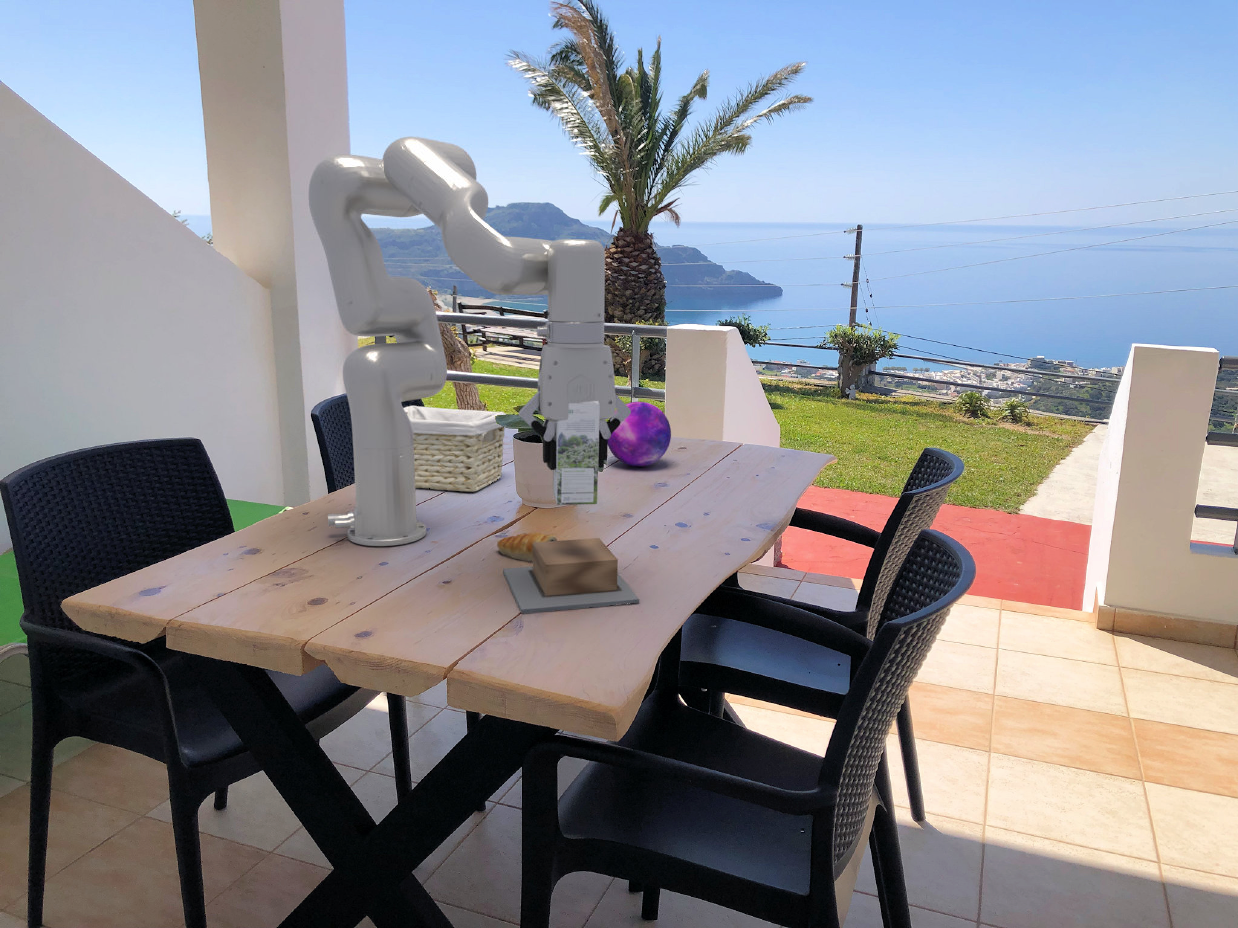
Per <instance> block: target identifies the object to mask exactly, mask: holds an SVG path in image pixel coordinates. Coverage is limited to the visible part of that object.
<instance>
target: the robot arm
mask: <svg viewBox="0 0 1238 928" xmlns="http://www.w3.org/2000/svg"><path fill="white" fill-rule="evenodd" d="M308 206H309V210H310V212H309V213H310V215H311V218H312V221H313V225H314V227H315V230H316V232H317V234H318V237H319V240H320V242H321V245H322V247H323V251H324V253H325V257H326V260H327V261H326V262H327V266H328V272H329V275H330V280H331V285H332V288H333V293H334V297H335V302H336V307H337V311H338V314H339V317H340V321H341V323H342V325H343V328H344V329H345V330H346V331H347V332H348V334H349V333H350V334H351V335H353V336H357V337H367V338H369V337H387V336H394V338H395V341H396V342H389V343H388V342H387V343H385V342H384V343H374V344H368V345H363V346H360V347H358V348H356V349H355V350H353V351H352V352H351V353H350V354H348V356H347V357H346V359H345V361H344V363H343V368H342V379H343V386H344V388H345V389H344V390H345V394H346V397H347V401H348V405H349V412H350V419H351V431H352V433H351V434H352V447H353V450H352V451H353V467H354V470H353V471H354V485H355V487H354V488H355V506H354V510H353V511H350V510H349V511H347V513H342V514H341V513H329V514H327V521H328V522H327V524H328V527H329V526H331V527H335V529H344V528H348V530H347V539H348V540H349V541H350V542H352V543H355V544H357V545H362V546H369V547H389V546H390V547H392V546H399V545H405V544H409V543H410V544H411V543H414V542H416V541H418V540H420V539H422V538H424V537H425V536H426V534H427V526H426V525H425V524H424V522H421V521H419V520H417V499H416V497H417V496H416V494H417V493H416V488H415V462H414V436H413V428H412V424H411V422H410V419H409V417H408V416H407V414H406V412H405V410H404V409H403V408H404V406H403V405H402V402H403V403H404V402H407V401H414V400H421V399H422V400H423V399H427V398H432V397H434V396H436V395H437V394H439V393H440V392H441V391H442V390H443V388H444V386H445V384H446V382H447V378H448V377H447V375H448V365H447V364H448V363H447V359H446V353H445V349H444V344H443V340H442V335H441V330H440V325H439V321H438V315H437V312H436V308H435V304H434V301H433V298H432V296H431V294H430V293H429V291H428V290H427V288H426V287H425V286H424V285H423V284H422V283H421V282H420V281H418V280H417V279H414V278H413V277H408V276H407V277H406V276H394V275H393V276H391V275H389V274H388V271H387V269H386V265H385V262H384V261H385V260H384V257H383V256H384V255H383V251H382V248H381V245H380V243H379V241H378V240H377V238H376V236H375V235H374V233H373V231H372V230H371V228H370V227H369V226H368V225H367V224H366V223H365V221H364V220H363V219H362V216H363V215H371V216H380V217H381V216H382V217H391V218H410V217H415V216H419V215H422V214H423V215H424V216H425V217H426V218H427V219H428V220H430V222H432V223H433V224H434V225H435V226H436V227H438V229H440V233H441V239H442V240H441V241H442V242H443V243H442V244H443V246H444V249H445V250H446V254H447V256H448V257H449V259H450V260H451V262H452V263H453V264H454V265H455V266H456V267H457V268H458V269H459V270H460V271H461V272H462V273H464V274H465V276H467V277H468V278H469V279H471V280H472V281H473V282H474V283H475V284H476V285H478V286H480V287H481V288H483V289H484V290H486V291H488V292H489V293H493V294H494V295H500V296H522V295H523V296H524V295H525V296H546V295H547V321H546V323H545V324H544V325H542V326H541V325H540V326H539V325H538V326H536V336H537V337H542V338H545V339H546V341H547V344H544V345H543V346H542V349H541V353H540V354H541V355H540V358H539V359H540V360H539V369H538V378H537V392H536V393H535V394H534V395H533V396H532V397H531V398H530V399H529V400H528V401H527V402H526V403H525V405H524V406H522V408H520V410H519V411H518V416H519V417H520V418H521V419H522V420H523V421H525V423H526V424H527V425H528V426H529V427H530V428H532V429H533V431H535V432H536V433H537V434H538V435H539V436H540V437H541V438H542V461H543V463H544V464H546V465H547V468H548V469H549V470H550V471H553V470H555V469H556V441H554V436H553V435H554V433H555V430H556V422H557V421H561V420H568V414H569V404H570V403H582V402H587V401H588V402H592V401H598V403H599V404H600V414H599V453H598V469H601V468H605V461H608V449H609V447H608V439H609V438H610V436H611V434H612V433H613V432H614V431H615V430H616V429H617V428H618V427H619V426H620V423H621V422H623V421H624V420H625V419H626V418H627V417H628V416H629V415H630V413H631V410H630V409H629V408H628V407H627V406H626V405H625V404H626V403H625V402H624V401H623V400H622V399H621V398H620V397H619V396H618V395H617V394H616V386H615V383H616V382H615V369H614V363H613V362H614V361H613V356H612V354H613V353H612V349H611V346H610V345H606V344H605V292H606V290H605V286H606V285H605V283H606V282H605V281H606V279H605V278H606V277H605V276H606V271H605V270H606V255H605V253H606V251H605V248H604V246H603V244H602V243H601V242H599V241H597V240H593V239H578V238H577V239H576V238H574V239H573V238H571V239H570V238H568V239H567V238H563V239H557V240H550V239H542V238H531V237H521V236H505V235H503V234H501V233H500V232H498V231H497V230H496V229H495V228H493V226H491V225H489V223H487V222H486V221H485V220H484V219H485V217H486V214H487V212H488V209H489V195H488V193H487V190H486V189H485V187H484V186H483V185H482V184H481V183H480V182H479V181H477V168H476V165H475V162H474V161H473V160H472V157H471V156H470V154H469V153H468V152H467V151H466V150H465V149H463V148H462V147H461V146H459V145H456V144H454V143H450V142H444V141H441V140H440V141H438V140H434V139H429V138H426V137H421V136H420V137H419V136H404V137H400V138H398V139H395V140H394V141H393V142H391V143H390V144H389V146H387V148H386V149H385V151H384V153H383V155H382V159H380V158H376V157H370V156H365V155H358V154H335V155H331V156H328V157H326V158H324V159H322V160H321V161H320V162H319V163H318V164H317V165H316V166H315V168H314V170H313V171H312V175H311V177H310V180H309V185H308ZM536 410H537V412H538V414H539V415H541V416H542V417H543V418H544V422H543V424H542V423H541V422H540V421H538V420H537V418H535V417H534V415H533V414H534V412H535V411H536ZM616 410H617V412H616V413H615V411H616Z"/></svg>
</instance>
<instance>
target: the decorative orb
mask: <svg viewBox="0 0 1238 928" xmlns="http://www.w3.org/2000/svg"><path fill="white" fill-rule="evenodd" d="M624 404H625V405H626V406H627V407H628V408H629V409H630V410H631V413H630V415H629V416H628V417H627V418H626V419H625V420H624V421H623V422H621V423H620V426H619V427H618V428H617V429H616V430H615V431H614V432H613V433H612V434H611V436H610V438H609V439H608V449H609V450H610V452H611V453H612V455H613V456H614V457H615V458H616V459H617V460H618V461H620V462H621V463H623V464H625V465H628V466H630V467H636V468H637V467H638V468H639V467H647V466H650V465H652V464H654V463H656V462H657V461H659V460H660V459H661V458H662V457H663V456H664V455H665V453H667V451H668V448H669V446H670V443H671V439H672V431H671V425H670V422H669V419H668V417H667V415H666V414H664V412H663V411H662V410H661V409H660V408H659V407H657V406H656V405H653V404H652V403H649V402H646V401H633V402H628V403H624ZM616 412H617V409H615V413H616Z"/></svg>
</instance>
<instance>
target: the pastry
mask: <svg viewBox="0 0 1238 928" xmlns="http://www.w3.org/2000/svg"><path fill="white" fill-rule="evenodd" d="M547 541H558V539H557V536H556V535H554V534H553V533H552V534H550V535H549V534H548V535H547V534H543V533H539V532H532V531H531V532H529V533H522V534H521V533H520V534H516V535H511V536H507V537H503V538H501V539H499V541H498V540H497V544H496V545H497V547H498V550H499V553H500V554H502V556H507V557H509V558H512V559H515V560H520V561H526V562H531V563H532V542H547Z"/></svg>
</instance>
